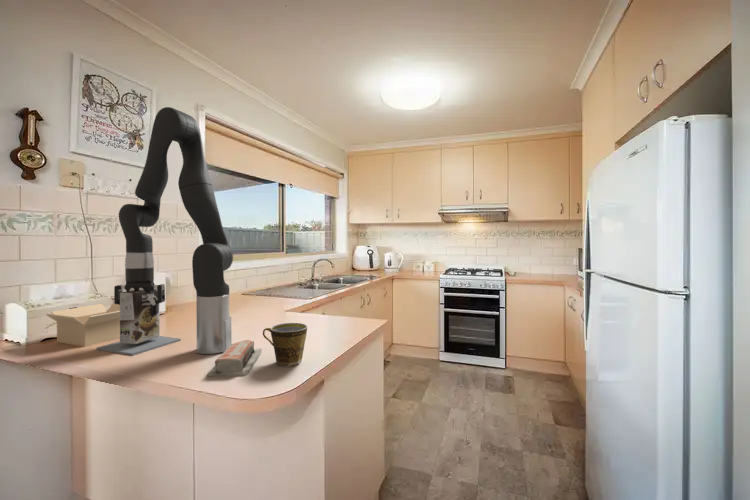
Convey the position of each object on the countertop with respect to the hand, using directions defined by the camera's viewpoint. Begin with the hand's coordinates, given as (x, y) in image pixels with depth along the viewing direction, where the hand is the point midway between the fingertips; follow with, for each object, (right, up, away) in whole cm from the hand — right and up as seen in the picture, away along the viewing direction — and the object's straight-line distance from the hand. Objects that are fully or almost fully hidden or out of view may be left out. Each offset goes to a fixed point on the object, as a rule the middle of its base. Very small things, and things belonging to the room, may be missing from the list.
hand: (140, 316), depth 107 cm
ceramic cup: (+51, -10, -15) cm, 54 cm away
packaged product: (+38, -10, -15) cm, 42 cm away
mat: (0, -9, 0) cm, 9 cm away
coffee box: (0, -8, 0) cm, 8 cm away
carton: (-21, -9, +8) cm, 24 cm away
